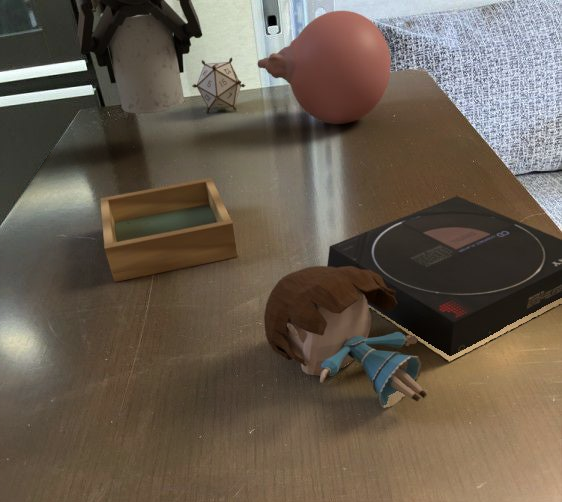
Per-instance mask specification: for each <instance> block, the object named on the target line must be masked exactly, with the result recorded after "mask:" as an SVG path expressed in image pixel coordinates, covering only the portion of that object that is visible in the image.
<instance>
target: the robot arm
mask: <svg viewBox="0 0 562 502" xmlns="http://www.w3.org/2000/svg"><path fill="white" fill-rule="evenodd" d="M78 1H79V13H78V23H77V33H76V37H77V41H78V46H79V50H80V54H81V55H83V56H86V55H89V54H90V53H92V54H94V55H95V59H96V62H97V66H98V67H99V68H102V67H106V69H107V73H108V77H109V81H110V84H117V82H116V78H115V74H114V70H113V65H112V61H111V57H110V52H109V48H108V44H109V43H110V41H111V39H112V37H113V35H114V34H115V32H116V30H117V28H118V26H122V24H123V22H124V20H125V19H126V18H128V17H133V16H136V15H149V14H150V13H151V14H152V15H153V16H154V17H155V18H156V19H157V20H160V21H161V22H162V23H163V24H164V25H165V26H166V27H167V28H168V29H169V30H170V31H171V32H172V33H173V37H174V43H175V48H176V54H177V60H178V66H179V72H180V74H182V73H184V72H185V69H184V55H186V54H187V55H188V54H189V53H190V52H191V51H190V50H191V49H190V47H191V46H192V43H191V39H192V38H194V39H200V38H202V37H203V32H202V31H203V30H202V27H201V23H200V19H199V16H198V14H197V12H196V9H195V7H194V5H193V2H192V0H176V1H179V6H180V8H181V11H182V13H183V15H184V18H185V20H186V22H185V20H184V19H183V18H182V17H181V16H180V15H179V14H178V13H177V12H176V11H175V9H174V8H173V7H171V5H170V4H169V3H168V2H167V1H166V0H78ZM100 2H102V3H103V4H104V5H105V9H104V10H103V12H102V13H103V14H102V13H101V14H102V16H101V17H100V18H99V20H98V22H97V24H96V26H95V28H94V22H95V15H94V13H96V12H97V8H98V6H99V3H100Z"/></svg>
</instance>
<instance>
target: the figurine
mask: <svg viewBox="0 0 562 502" xmlns="http://www.w3.org/2000/svg"><path fill="white" fill-rule="evenodd" d="M385 290H386V291H387V292H386V291H385ZM395 292H396V291H395V290H392V289H388V288H387V287H386V285H385V283H384V281H383V279H382V277H381V276H380V275H378V274H376V273H375V272H373V271H371V270H361V269H358V268H356V267H353V266H346V267H339V268H335V267H328V266H327V265H316V266H315V265H313V266H307V267H305V268H302V269H298V270H296V271H293V272H290V273H288V274H286V275H285V276H283V277H282V278H280V280H279V281H277V283H276V284H275V285H274V287H273V288H272V290H271V292H270V293H269V296H268V299H267V301H266V304H265V309H264V316H263V321H264V324H263V325H264V332H265V337H266V341H267V342H268V345H269V347H270V348H271V350H272V352H274V353H276V354H277V355H279V356H280V357H282V358H283V359H286V360H287V361H291V360H293V361H295V362H297V363H298V364H300V366H301V370H302V372H304V373H305V374H306V375H311V376H320V377H319V382H320V383H321V384H322V383H324V381H325V379H326V377H329V376H330V377H334V376H335V375H337V374H338V372H339V371H340V370H341V369H340V368H342V367H344V366H345V365H347V364H348V363H350V362H352V361H353V360H354V359H355V360H354V361H357V362H358V363H359V364H360V365H361V366H362V368H363V370H364V371H365V373H366V375H367V378H368V379H369V382H370V385H371V387H372V389H373V390H374V392H375V393H376V395H377V398H378V400H379V404H380V406H381V408H382V409H383V406H384V405H386V404H387V401H388V398H389V397H388V396H389V395H391V394H393V393H395V392H396V391H399V392H401V393H403V394H404V395H405V397H408V398H410V399H412V400H413V401H414V402H420V401H421V398H423V399H426V398H427V396H428V394H427V392H426V391H425V390H424V389H423V388H422V387H421V386H420V384H418V382H417V380H418V378H419V377H420V374H421V371H422V366H423V363H422V361H421V358H420V357H419V356H418V355H417V356H416V355H409V354H408V355H407V354H405V353H404V352H401V351H389V350H380V349H379V350H377V349H375V348H372V347H371V346H386V347H391V348H397V349H401V348H402V347H403V346H404V345H405V346H407V347H408V346H410V345H415V344H417V342H418V339H417V338H416V337H415V336H412V335H408V334H407V335H405V334H403V332H400V331H395V332H393V333H388V334H385V335H382V336H373V337H369V334H370V331H371V326H372V319H373V317H372V314H371V311H370V308H368V303H367V301H368V302H370V303H372V304H374V305H376V306H377V307H379V308H381V309H383V310H386V311H392V310H393V309H394V308H395V306H396V305H397V301H396V299H395V297H394V295H395ZM354 361H353V362H354ZM353 362H352V363H353ZM344 368H345V367H344ZM339 369H340V370H339ZM342 369H343V368H342ZM408 387H409V388H411V389H409V388H408Z"/></svg>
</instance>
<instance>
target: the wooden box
mask: <svg viewBox="0 0 562 502" xmlns="http://www.w3.org/2000/svg"><path fill="white" fill-rule="evenodd" d="M99 201H100V209H101V210H100V211H101V212H100V213H101V223H102V224H101V225H102V232H103V246H104V251H105V255H106V259H107V261H108V262H107V263H108V264H109V265H108V266H109V269H110V273H111V275H112V278H113V282H114V283H117V282H122V281H128V280H131V279H137V278H142V277H147V276H151V275H156V274H161V273H165V272H170V271H171V272H172V271H176V270H180V269H185V268H189V267H194V266H199V265H204V264H209V263H213V262H218V261H219V262H220V261H224V260H229V259H233V258H238V257H239V255H238V248H237V242H236V236H235V228H234V222H233V219H232V218H231V217H230V214H229V213H228V210H227V208H226V206H225V204H224V202H223V200H222V197H221V195H220V193H219V191H218V189H217V186H216V184H215V183H214V181H213V178H212V177H208V178H207V177H206V178H202V179H198V180H192V181H188V182H182V183H181V182H180V183H176V184H175V183H174V184H171V185H166V186H165V185H164V186H160V187H155V188H154V187H153V188H149V189H144V190H138V191H132V192H128V193H123V194H122V193H121V194H117V195H111V196H106V197H101V198H100V199H99Z"/></svg>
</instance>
